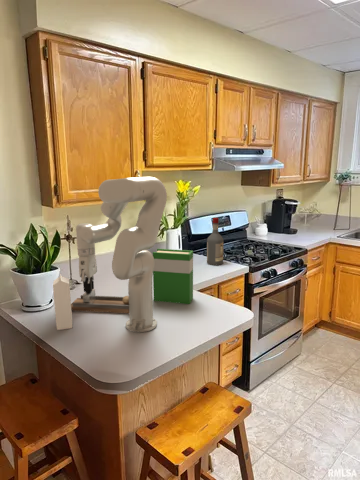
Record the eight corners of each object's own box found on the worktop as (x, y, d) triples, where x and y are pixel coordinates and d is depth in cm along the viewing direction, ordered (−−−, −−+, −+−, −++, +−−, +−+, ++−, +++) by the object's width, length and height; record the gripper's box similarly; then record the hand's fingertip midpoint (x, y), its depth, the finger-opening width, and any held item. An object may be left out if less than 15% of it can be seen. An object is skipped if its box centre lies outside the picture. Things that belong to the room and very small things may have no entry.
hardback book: (153, 300, 171) (152, 252, 166) (158, 295, 178) (157, 248, 173) (189, 304, 167) (189, 254, 161) (193, 298, 174) (193, 250, 168)
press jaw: (89, 305, 160) (88, 279, 158) (83, 305, 161) (81, 279, 158) (95, 299, 167) (94, 274, 165) (89, 299, 167) (87, 274, 165)
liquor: (205, 264, 231) (205, 218, 224) (212, 260, 238) (212, 216, 232) (217, 266, 226) (218, 219, 219) (224, 262, 233) (225, 217, 227)
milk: (56, 330, 142) (51, 277, 137) (57, 323, 147) (52, 273, 142) (72, 328, 143) (68, 276, 138) (72, 321, 149) (68, 271, 144)
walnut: (130, 306, 160) (129, 297, 159) (121, 305, 160) (121, 297, 159) (132, 302, 163) (132, 294, 163) (124, 302, 164) (123, 294, 163)
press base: (138, 313, 156) (137, 296, 155) (68, 310, 160) (67, 293, 159) (143, 304, 166) (143, 288, 165) (77, 301, 170) (76, 285, 169)
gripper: (87, 256, 150) (90, 297, 154) (100, 247, 166) (102, 284, 170) (70, 255, 151) (73, 296, 155) (85, 246, 167) (87, 284, 171)
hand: (88, 289), depth 163 cm, fingers closed on press jaw, 2 cm apart
